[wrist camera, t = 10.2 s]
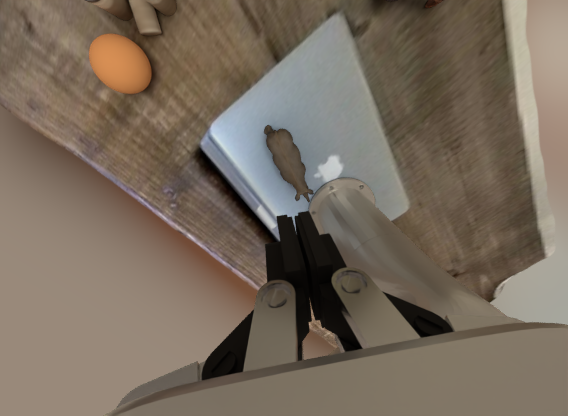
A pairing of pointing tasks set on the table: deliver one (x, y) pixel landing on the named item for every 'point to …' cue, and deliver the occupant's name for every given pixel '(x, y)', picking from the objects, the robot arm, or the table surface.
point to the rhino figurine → (287, 160)
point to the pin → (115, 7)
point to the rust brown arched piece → (432, 2)
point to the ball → (120, 63)
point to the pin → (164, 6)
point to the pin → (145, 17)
